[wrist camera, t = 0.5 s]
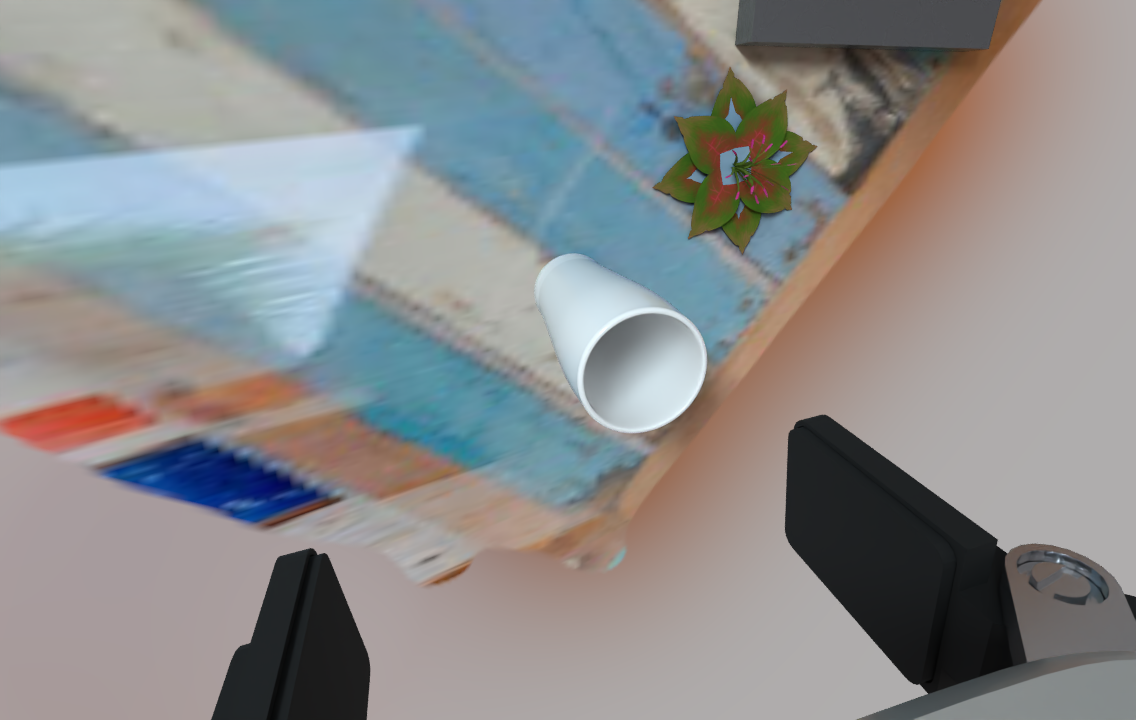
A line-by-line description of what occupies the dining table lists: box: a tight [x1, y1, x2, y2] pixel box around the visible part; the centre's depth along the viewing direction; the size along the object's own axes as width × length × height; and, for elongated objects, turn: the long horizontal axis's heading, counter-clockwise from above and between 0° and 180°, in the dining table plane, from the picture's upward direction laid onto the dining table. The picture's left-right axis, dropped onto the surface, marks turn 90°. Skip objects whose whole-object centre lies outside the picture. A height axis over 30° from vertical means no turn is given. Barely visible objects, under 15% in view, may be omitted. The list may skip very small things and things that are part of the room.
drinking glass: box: [534, 253, 707, 433], centre depth 34 cm, size 7×7×15 cm
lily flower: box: [653, 67, 817, 254], centre depth 39 cm, size 12×12×5 cm
